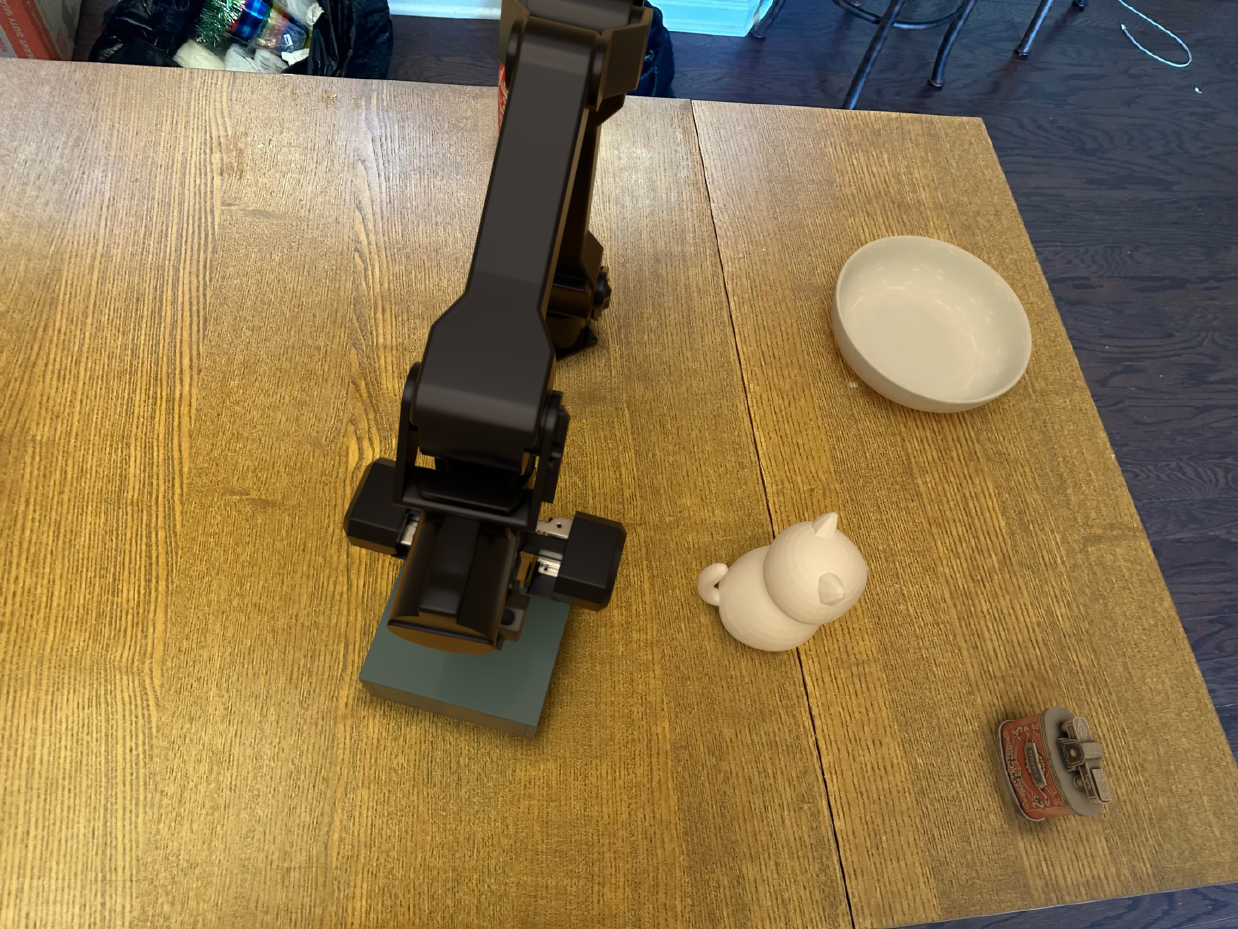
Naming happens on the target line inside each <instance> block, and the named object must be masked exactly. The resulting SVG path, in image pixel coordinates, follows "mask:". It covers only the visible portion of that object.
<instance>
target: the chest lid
mask: <svg viewBox="0 0 1238 929" xmlns="http://www.w3.org/2000/svg"><path fill="white" fill-rule="evenodd" d="M405 562H406V561H405V560H402V564H401V567H400V568H399V572H398V574H397V576H396V579H395V582H394V585H393V586H392V590H391V592H390V594H389V597H388V599H387V602H386V605H385V608H384V610H383V612H382V615H381V618H380V621H379V623H378V625H377V628H376V631H375V633H374V635H373V638H372V641H371V644H370V646H369V649H368V651H367V654H366V657H365V659H364V662H363V663H362V666H361V670H360V672H359V674H358V677H357V678H358V681H359V682H360V681H364V682H367V683H371V684H375V685H378V686H382V687H386V688H390V689H393V690H397V691H401V692H404V693H408V694H412V695H415V696H419V697H423V698H426V699H430V700H434V701H438V702H441V703H445V704H449V705H452V706H456V707H460V708H463V709H467V710H471V711H474V712H478V713H482V714H486V715H489V716H493V717H497V718H500V719H504V720H508V721H511V722H515V723H519V724H522V725H526V726H530V727H534V728H537V729H538V726H539V723H538V722H540V719H541V716H540V715H542V712H541V711H543V708H544V705H543V704H545V701H546V697H547V694H548V690H549V687H550V683H551V679H552V676H551V675H553V672H554V668H555V665H556V661H557V658H558V654H559V650H560V647H559V646H561V643H560V642H562V639H563V636H564V632H565V628H566V625H567V621H568V617H569V614H570V610H571V607H570V606H572V605H569V604H566V603H562V602H556V601H552V600H548V599H545V598H541V597H537V596H534V595H530V594H527V589H525V588H524V587H523V585H524V582H525V580H526V577H527V574H528V570H529V567H530V562H531V560H527V559H524V558H521V565H520V569H519V572H518V575H517V578H516V579H517V580H521V582H520V586H519V592H520V593H521V594H523V595H527V596H530V598H531V599H530V603H529V607H528V611H527V614H526V618H525V621H524V625H523V628H522V632H521V635H520V638H519V640H518V641H516V642H514V641H510V640H505V641H504V643H503V646H502V649H501V651H499V650H495V649H494V650H493V651H492V652H490V653H488V654H480V655H470V654H459V653H452V652H446V651H441V650H436V649H432V648H428V647H424V646H421V645H418V644H415V643H412V642H409V641H407V640H404V639H402V638H400V637H398V636H396V635H395V634H393V633H391V632H390V631H389V630H388V629H387V626H386V625H387V622H388V618H389V615H390V612H391V609H392V605H393V602H394V599H395V595H396V592H397V589H398V585H399V582H400V579H401V576H402V572H403V569H404V566H405ZM569 609H570V610H569ZM568 613H569V614H568ZM566 620H567V621H566ZM565 624H566V625H565ZM563 631H564V632H563ZM562 635H563V636H562ZM558 649H559V650H558ZM557 653H558V654H557ZM555 660H556V661H555ZM554 664H555V665H554ZM552 671H553V672H552ZM550 678H551V679H550ZM549 682H550V683H549ZM548 686H549V687H548ZM547 689H548V690H547ZM546 693H547V694H546ZM544 700H545V701H544ZM539 718H540V719H539Z"/></svg>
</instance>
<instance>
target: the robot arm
mask: <svg viewBox="0 0 1238 929" xmlns="http://www.w3.org/2000/svg"><path fill="white" fill-rule="evenodd" d="M644 3H645V0H501V4H500V17H499V29H498V30H499V32H498V43H497V44H498V45H497V61H498V62H499V64H502V66H503V67H504V68H505V88H506V91H507V92H508V96H507V100H506V105H505V109H504V114H503V118H502V123H501V128H500V132H499V133H498V138H497V142H496V147H495V150H494V155H493V161H492V164H491V169H490V174H489V179H488V182H487V183H488V184H487V188H486V193H485V197H484V202H483V206H482V210H481V215H480V220H479V224H478V228H477V229H478V230H477V234H476V238H475V243H474V246H473V251H472V257H471V261H470V266H469V271H468V274H467V279H466V282H465V286H464V290H463V293H462V294H461V295H460V296H459V297H457V299H456V300H455V301H454V302H453V303H452V304H451V305H450V306H448V308H446V310H445V311H444V312H443V313H442V314H441V315H440V316H439V317H438V318H436V319H435V321H433V323H432V324H431V326H430V327H429V332H428V335H427V338H426V343H425V346H424V350H423V353H422V357H421V361H419V360H415V361H414V362H413V363H412V365H411V366H410V368H409V370H408V373H407V376H406V379H405V381H404V386H403V390H402V394H401V402H400V410H399V420H398V433H397V443H396V453H395V454H396V455H395V460H394V459H391V458H387V457H383V456H379V457H378V458H376V459H375V460H373V461H371V462H369V463H368V464H367V465H366V466H365V468H364V470H363V472H362V475H361V477H360V479H359V482H358V484H357V486H356V488H355V490H354V493H353V495H352V497H351V500H350V502H349V504H348V507H347V509H346V511H345V513H344V516H343V521H342V529H343V532H344V534H345V536H346V538H347V540H348V542H349V544H350V546H352V547H356V548H360V549H364V550H368V551H371V552H375V553H379V554H382V555H386V556H390V557H392V558H394V559H398V560H401V561H404V560H405V561H406V562H405V566H404V569H403V572H402V576H401V579H400V582H399V585H398V589H397V592H396V595H395V599H394V602H393V605H392V609H391V612H390V615H389V618H388V622H387V625H386V626H387V629H388V630H389V631H390V632H391V633H393V634H395V635H396V636H398V637H400V638H402V639H404V640H407V641H409V642H412V643H415V644H418V645H421V646H424V647H428V648H432V649H436V650H441V651H446V652H452V653H459V654H470V655H480V654H488V653H490V652H492V651H493V650H494V649H495V650H499V651H501V649H502V646H503V643H504V641H505V640H510V641H514V642H516V641H518V640H519V638H520V635H521V632H522V628H523V625H524V621H525V618H526V614H527V611H528V607H529V603H530V599H531V598H530V596H527V595H523V594H521V593H520V592H519V586H520V582H521V580H517V579H516V578H517V575H518V572H519V569H520V565H521V559H522V555H521V553H525V554H528V555H532V558H531V560H530V561H531V562H530V567H529V570H528V574H527V577H526V580H525V582H524V585H523V587H524V588H525V589H527V594H530V595H534V596H537V597H541V598H545V599H548V600H552V601H556V602H562V603H566V604H569V605H571V606H573V607H577V608H581V609H585V610H587V611H592V612H595V613H600V612H601V611H602V610H604V609H607V608H608V607H609V605H610V602H611V598H612V596H613V593H614V588H615V585H616V580H617V576H618V573H619V569H620V565H621V561H622V557H623V552H624V550H625V545H626V541H627V537H628V532H627V529H626V528H625V526H624V524H623V522H621V521H618V520H614V519H609V518H606V517H603V516H600V515H595V514H592V513H587V512H584V511H581V510H575V513H574V515H573V519H570V518H566V517H562V516H556V517H552V516H549V518H548V520H547V522H546V521H543V520H540V515H541V512H542V506H543V503H545V504H550V505H553V504H554V502H555V498H556V494H557V488H558V483H559V479H560V478H559V477H560V473H561V468H562V463H563V459H564V458H563V457H564V453H565V448H566V443H567V439H568V433H569V429H570V424H571V415H570V413H569V412H568V410H567V408H566V405H565V404H563V402H564V395H565V394H564V393H565V392H564V391H562V390H557V389H554V385H555V381H556V376H557V370H558V364H557V363H558V362H560V361H562V360H565V359H567V358H570V357H572V356H574V355H576V354H579V353H581V352H583V351H587V350H588V349H590V348H593V347H595V346H597V344H598V341H599V339H598V337H597V335H596V333H594V331H593V329H591V325H592V321H593V322H599V319H600V318H602V314H603V311H605V310H607V309H608V308H610V303H611V297H612V292H613V289H612V287H611V286H610V284H609V282H610V277H609V271H610V267H609V266H606V265H602V263H603V256H604V249H605V248H604V246H603V245H602V244H601V242H600V240H598V238H596V237H595V235H594V233H592V232H591V230H590V229H589V228H590V220H591V213H592V205H593V197H594V190H595V183H596V182H595V181H596V174H597V168H598V167H597V166H598V158H599V152H600V151H599V150H600V143H601V135H602V127H603V124H604V123H606V121H608V120H609V119H610V118H612V117H613V116H614V115H615V114H616V113H618V112H619V111H621V110H622V109H623V107H624V105H625V101H626V97H627V94H628V93H632V92H635V91H637V89H638V85H639V82H640V78H641V75H642V71H643V67H644V63H645V59H646V54H647V48H648V44H649V38H650V33H651V28H652V22H653V16H654V10H655V9H654V8H650V7H647V6H644ZM418 452H419V453H420V454H421V455H422V456H426V457H430V458H433V463H434V468H432V467H426V466H422V465H416V463H417V459H418ZM537 457H538V460H537ZM536 464H537V466H536Z"/></svg>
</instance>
